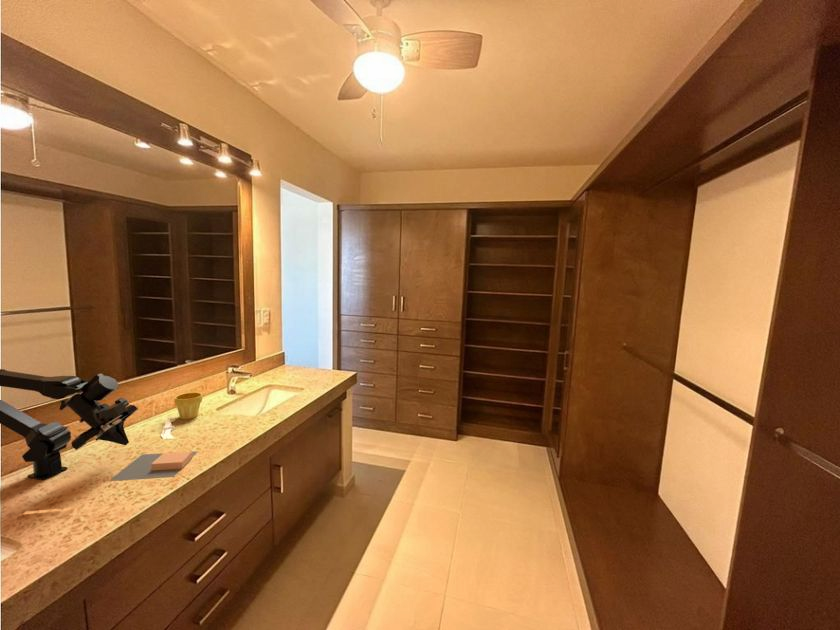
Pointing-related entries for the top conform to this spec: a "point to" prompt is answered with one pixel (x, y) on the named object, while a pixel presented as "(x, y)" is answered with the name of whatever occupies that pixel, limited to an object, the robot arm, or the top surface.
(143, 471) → the mat
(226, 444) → the top surface
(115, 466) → the top surface
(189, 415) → the plant pot
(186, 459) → the tile
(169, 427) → the knife
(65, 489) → the top surface
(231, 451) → the top surface
